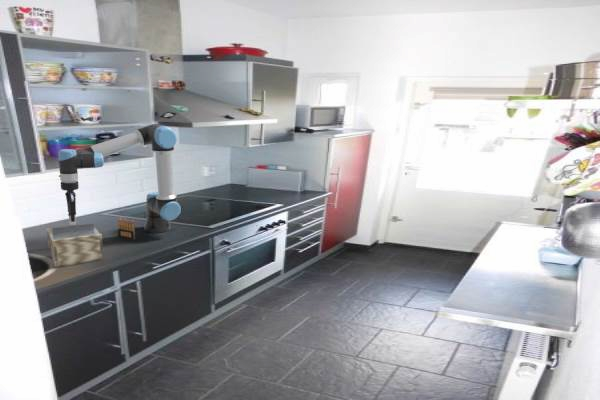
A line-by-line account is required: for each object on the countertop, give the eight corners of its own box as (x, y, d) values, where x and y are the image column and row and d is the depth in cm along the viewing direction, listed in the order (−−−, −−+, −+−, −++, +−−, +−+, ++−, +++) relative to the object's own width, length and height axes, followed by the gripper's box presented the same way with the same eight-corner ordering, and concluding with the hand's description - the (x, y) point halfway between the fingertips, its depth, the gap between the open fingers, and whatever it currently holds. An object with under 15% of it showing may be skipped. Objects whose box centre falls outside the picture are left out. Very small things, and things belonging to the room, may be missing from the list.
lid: (95, 229, 205) (95, 222, 204) (101, 237, 196) (100, 229, 195) (49, 235, 193) (49, 227, 192) (53, 244, 184) (52, 235, 183)
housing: (92, 241, 218) (90, 218, 215) (103, 259, 197) (101, 234, 194) (48, 248, 206) (46, 223, 203) (55, 268, 185) (53, 241, 182)
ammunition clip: (118, 237, 228) (117, 217, 225) (120, 236, 230) (119, 216, 227) (133, 240, 226) (133, 219, 223) (135, 239, 227) (135, 219, 224)
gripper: (58, 179, 196) (62, 224, 202) (62, 184, 186) (66, 232, 192) (75, 178, 201) (79, 222, 207) (80, 183, 191) (83, 229, 197)
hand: (73, 226), depth 199 cm, fingers closed
